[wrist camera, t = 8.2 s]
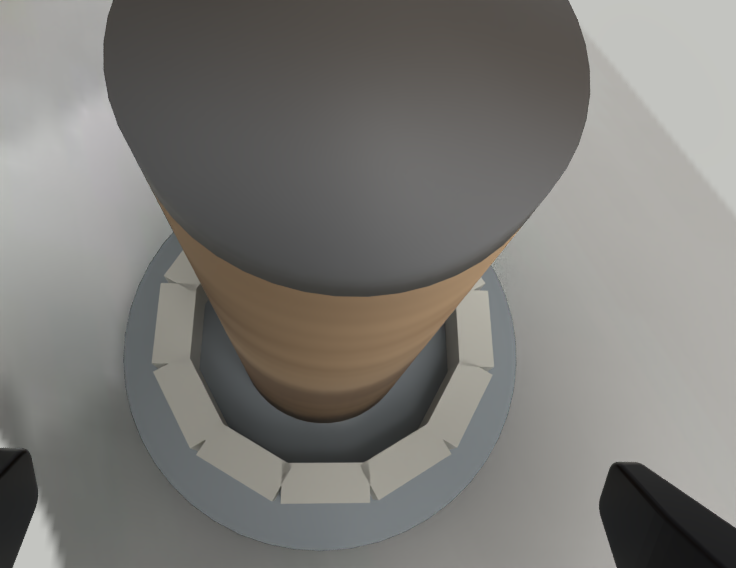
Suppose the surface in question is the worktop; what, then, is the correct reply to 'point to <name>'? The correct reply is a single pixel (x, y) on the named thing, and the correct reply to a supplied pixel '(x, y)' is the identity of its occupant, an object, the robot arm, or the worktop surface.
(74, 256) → the worktop surface
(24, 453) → the robot arm
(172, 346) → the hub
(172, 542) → the worktop surface
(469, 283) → the brown wooden canister
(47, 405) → the worktop surface
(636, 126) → the worktop surface
